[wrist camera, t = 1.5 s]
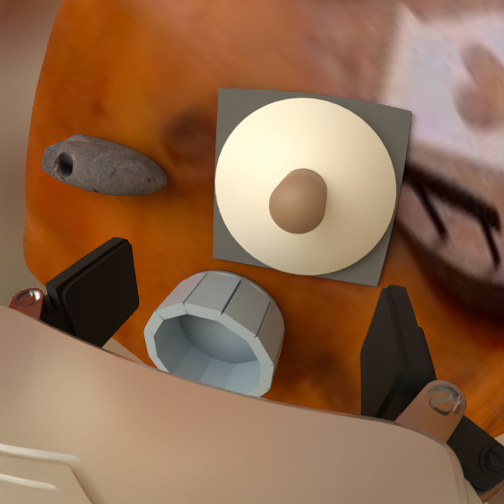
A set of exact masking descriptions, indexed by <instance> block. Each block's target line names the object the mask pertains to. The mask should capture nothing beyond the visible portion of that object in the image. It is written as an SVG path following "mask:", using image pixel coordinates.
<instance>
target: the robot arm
mask: <svg viewBox="0 0 504 504" xmlns="http://www.w3.org/2000/svg"><path fill="white" fill-rule="evenodd" d="M45 286H46V289H47V293H48V294H47V295H46V296H45V295H44V292H43V291H42V289H40V288H36V287H31V288H26V289H24V290H21V291H19V292H18V293H16V294H15V295H14V296H13V297H12V300H11V302H10V305H9V307H4V306H0V504H504V446H503V445H501V444H500V443H499V442H497V441H496V440H495V439H494V438H492V437H491V436H490V435H489V434H487V433H486V432H485V431H484V430H482V429H481V428H480V427H478V426H477V425H476V424H475V423H473V422H472V421H471V420H470V419H468V418H467V417H466V416H464V413H465V410H466V407H467V405H466V399H465V396H464V394H463V393H462V391H461V390H460V389H459V388H458V387H457V386H456V385H454V384H452V383H450V382H447V381H443V380H437V378H436V374H435V370H434V367H433V363H432V359H431V356H430V352H429V349H428V345H427V342H426V338H425V335H424V332H423V330H422V328H421V327H418V324H417V321H416V318H415V315H414V311H413V308H412V305H411V302H410V299H409V296H408V294H407V291H406V288H405V287H402V286H396V285H389V286H388V287H387V288H383V289H382V291H381V293H380V297H379V300H378V303H377V306H376V309H375V312H374V315H373V318H372V321H371V324H370V327H369V329H368V332H367V335H366V338H365V340H364V343H363V346H362V349H361V354H360V363H361V415H354V414H348V413H342V412H335V411H329V410H323V409H317V408H311V407H305V406H300V405H294V404H289V403H284V402H279V401H274V400H269V399H265V398H260V397H256V396H251V395H247V394H243V393H239V392H235V391H231V390H227V389H223V388H219V387H216V386H212V385H208V384H205V383H201V382H198V381H194V380H191V379H188V378H184V377H181V376H178V375H175V374H172V373H169V372H166V371H163V370H160V369H157V368H154V367H151V366H148V365H145V364H142V363H139V362H136V361H134V360H131V359H128V358H126V357H123V356H121V355H118V354H115V353H113V352H110V351H108V350H105V349H103V348H102V347H103V346H104V344H105V343H106V342H107V341H108V340H109V339H110V338H111V337H112V336H113V335H114V333H115V332H116V331H117V330H118V329H119V328H120V327H121V326H122V325H123V324H124V323H125V321H126V320H127V319H128V318H129V317H130V316H131V315H132V314H133V313H134V312H135V311H136V310H137V308H138V306H139V296H138V289H137V282H136V275H135V268H134V260H133V251H132V246H131V244H130V243H129V242H128V240H127V239H123V238H117V237H113V238H111V239H110V240H108V241H107V242H105V243H104V244H102V245H101V246H99V247H98V248H96V249H95V250H93V251H92V252H90V253H89V254H87V255H86V256H84V257H83V258H81V259H80V260H78V261H77V262H76V263H74V264H73V265H71V266H70V267H68V268H67V269H66V270H64V271H63V272H61V273H60V274H59V275H57V276H56V277H54V278H53V279H52V280H50V281H49V282H48V283H46V284H45Z"/></svg>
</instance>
